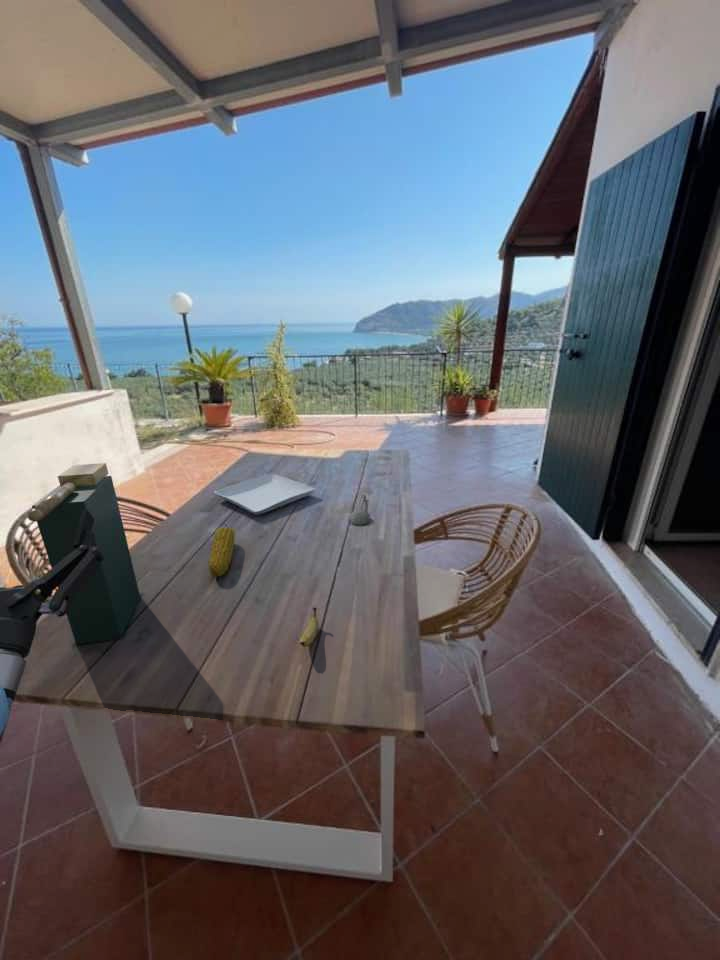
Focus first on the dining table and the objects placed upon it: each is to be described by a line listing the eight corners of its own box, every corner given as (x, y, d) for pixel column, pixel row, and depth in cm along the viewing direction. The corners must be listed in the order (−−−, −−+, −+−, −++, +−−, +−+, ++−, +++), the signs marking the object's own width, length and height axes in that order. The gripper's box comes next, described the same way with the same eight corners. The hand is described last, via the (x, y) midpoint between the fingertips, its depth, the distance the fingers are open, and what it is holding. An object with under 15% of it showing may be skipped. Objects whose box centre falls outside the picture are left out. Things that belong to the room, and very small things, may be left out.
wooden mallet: (11, 525, 59) (6, 511, 58) (76, 476, 81) (73, 465, 80) (56, 521, 61) (52, 507, 60) (108, 473, 82) (105, 462, 81)
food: (216, 542, 115) (213, 524, 113) (236, 540, 116) (234, 522, 114) (208, 583, 96) (205, 562, 94) (232, 580, 97) (229, 559, 95)
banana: (309, 659, 73) (308, 642, 71) (297, 658, 73) (295, 641, 72) (321, 622, 82) (320, 607, 81) (310, 621, 83) (309, 606, 81)
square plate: (213, 500, 145) (212, 490, 144) (272, 481, 164) (272, 472, 163) (256, 521, 128) (255, 510, 127) (317, 496, 148) (316, 487, 146)
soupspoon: (348, 526, 126) (368, 528, 125) (348, 517, 124) (368, 519, 124) (355, 498, 146) (372, 499, 145) (355, 490, 145) (373, 491, 144)
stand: (76, 645, 77) (31, 505, 66) (101, 601, 89) (67, 479, 79) (121, 637, 78) (84, 501, 68) (140, 595, 91) (111, 475, 81)
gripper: (89, 630, 48) (119, 497, 61) (-166, 669, 43) (-73, 513, 56) (111, 649, 54) (134, 523, 67) (-112, 686, 48) (-39, 541, 62)
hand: (40, 519), depth 62 cm, fingers open, 13 cm apart
